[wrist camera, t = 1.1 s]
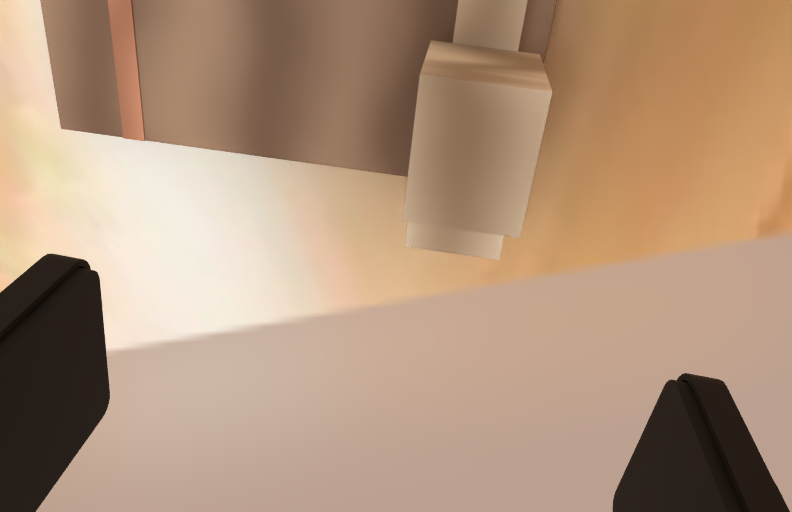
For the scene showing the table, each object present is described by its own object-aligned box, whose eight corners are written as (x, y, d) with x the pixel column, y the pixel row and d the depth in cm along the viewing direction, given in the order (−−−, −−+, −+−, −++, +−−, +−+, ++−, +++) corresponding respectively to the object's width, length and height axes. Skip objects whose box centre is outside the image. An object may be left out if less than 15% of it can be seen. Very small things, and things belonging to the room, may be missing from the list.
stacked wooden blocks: (545, -33, 26) (572, 3, 18) (496, 213, 32) (501, 322, 24) (445, -45, 26) (429, -15, 19) (414, 202, 32) (392, 306, 24)
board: (562, -59, 26) (568, -55, 24) (514, 174, 31) (516, 192, 29) (50, -121, 27) (19, -121, 25) (83, 115, 32) (59, 129, 30)
